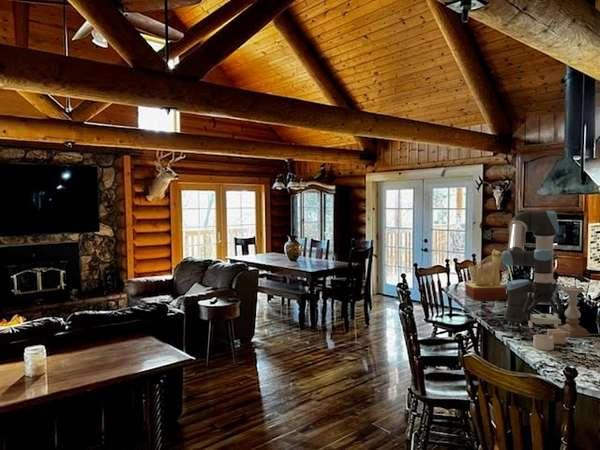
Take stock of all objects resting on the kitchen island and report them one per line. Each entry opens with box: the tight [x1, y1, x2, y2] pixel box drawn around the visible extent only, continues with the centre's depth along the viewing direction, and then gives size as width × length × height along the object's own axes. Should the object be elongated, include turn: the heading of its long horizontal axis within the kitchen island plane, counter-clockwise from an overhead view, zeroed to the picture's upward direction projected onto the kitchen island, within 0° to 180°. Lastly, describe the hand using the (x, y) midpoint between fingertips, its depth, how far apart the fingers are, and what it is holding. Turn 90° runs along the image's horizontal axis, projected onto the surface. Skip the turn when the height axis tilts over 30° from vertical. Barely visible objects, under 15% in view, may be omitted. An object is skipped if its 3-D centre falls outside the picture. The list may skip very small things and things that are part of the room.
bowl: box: [532, 334, 555, 351], centre depth 213 cm, size 8×8×5 cm
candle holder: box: [556, 286, 591, 338], centre depth 233 cm, size 11×11×24 cm
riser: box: [546, 328, 567, 345], centre depth 221 cm, size 6×6×6 cm
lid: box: [532, 313, 562, 325], centre depth 213 cm, size 11×11×3 cm
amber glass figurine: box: [465, 248, 507, 301], centre depth 325 cm, size 25×18×35 cm
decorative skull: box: [480, 262, 503, 284], centre depth 363 cm, size 18×26×20 cm, turn 171°
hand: (543, 327), depth 213 cm, fingers closed on lid, 11 cm apart
